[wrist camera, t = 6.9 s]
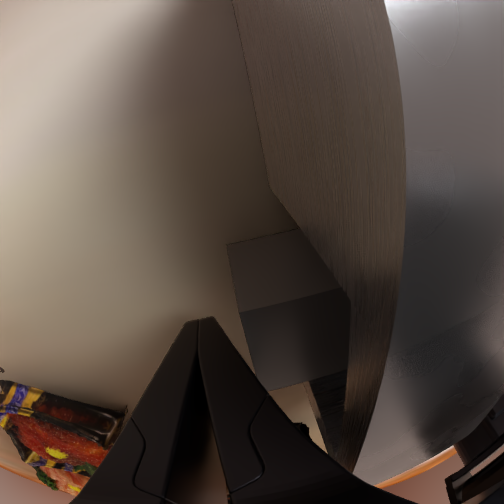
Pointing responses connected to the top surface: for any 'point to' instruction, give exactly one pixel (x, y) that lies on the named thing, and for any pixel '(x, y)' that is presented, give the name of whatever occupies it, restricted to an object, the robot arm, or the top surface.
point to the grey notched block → (393, 206)
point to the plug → (290, 309)
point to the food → (62, 434)
